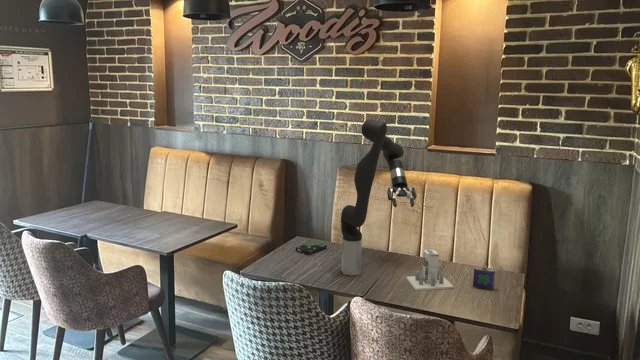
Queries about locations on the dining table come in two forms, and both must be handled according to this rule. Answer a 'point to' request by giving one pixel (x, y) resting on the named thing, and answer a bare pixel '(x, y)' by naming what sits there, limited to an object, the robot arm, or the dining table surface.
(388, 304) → the dining table surface
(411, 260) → the dining table surface
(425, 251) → the syrup box
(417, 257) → the dining table surface
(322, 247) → the disk drive
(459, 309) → the dining table surface
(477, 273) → the flask
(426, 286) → the dock
